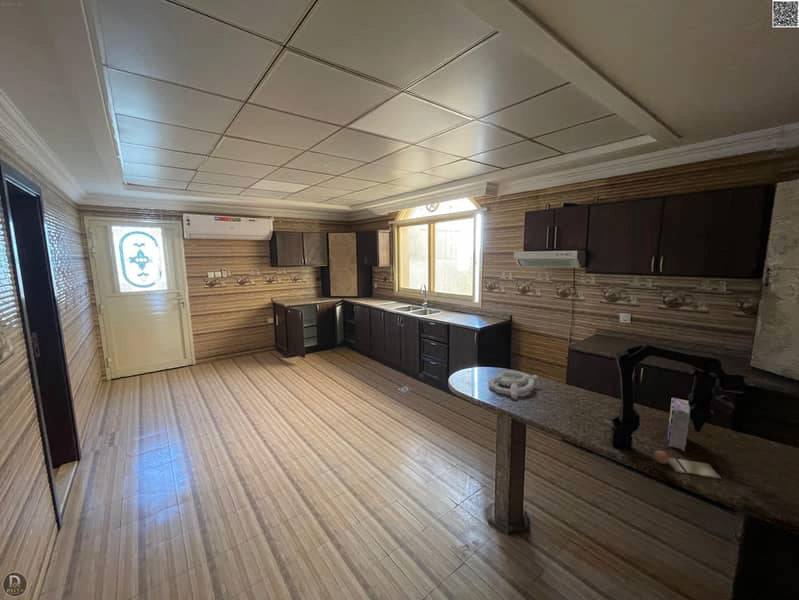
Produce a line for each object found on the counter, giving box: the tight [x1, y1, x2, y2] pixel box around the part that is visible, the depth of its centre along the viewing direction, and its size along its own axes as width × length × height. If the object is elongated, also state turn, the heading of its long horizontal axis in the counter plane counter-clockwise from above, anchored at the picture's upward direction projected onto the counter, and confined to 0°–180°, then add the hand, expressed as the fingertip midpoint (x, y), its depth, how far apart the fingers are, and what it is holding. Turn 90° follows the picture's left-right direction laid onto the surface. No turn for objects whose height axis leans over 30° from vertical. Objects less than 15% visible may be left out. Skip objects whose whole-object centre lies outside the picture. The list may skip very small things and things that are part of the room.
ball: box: [653, 450, 670, 465], centre depth 123 cm, size 4×4×4 cm
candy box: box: [667, 397, 691, 452], centre depth 136 cm, size 14×6×16 cm, turn 141°
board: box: [667, 457, 722, 480], centre depth 120 cm, size 13×8×1 cm, turn 71°
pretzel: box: [487, 370, 539, 400], centre depth 190 cm, size 28×24×6 cm
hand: (696, 426), depth 123 cm, fingers open, 9 cm apart
